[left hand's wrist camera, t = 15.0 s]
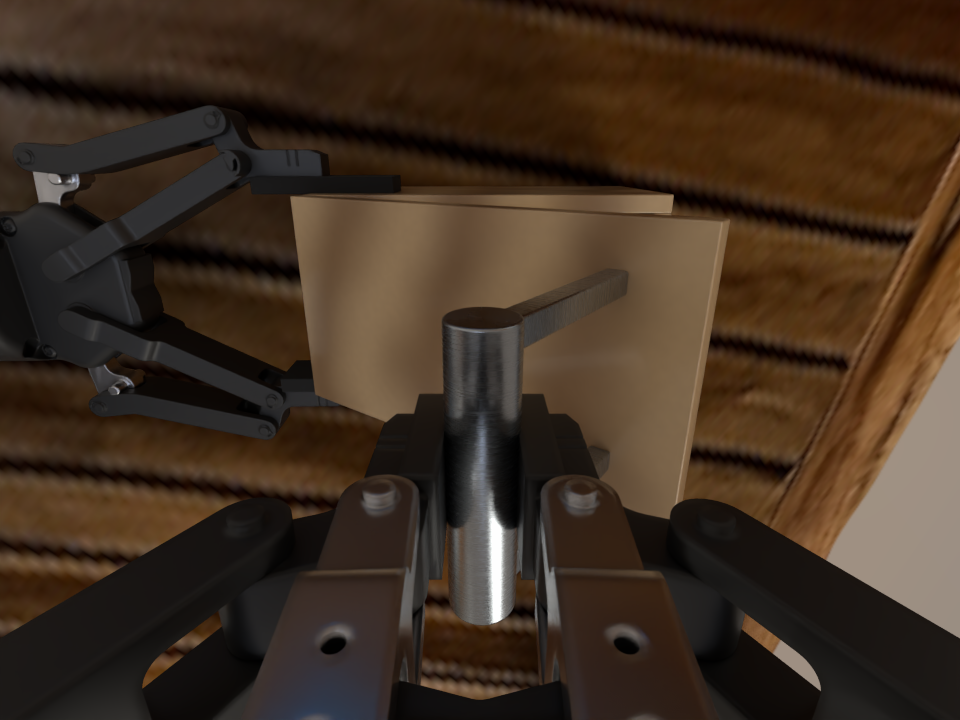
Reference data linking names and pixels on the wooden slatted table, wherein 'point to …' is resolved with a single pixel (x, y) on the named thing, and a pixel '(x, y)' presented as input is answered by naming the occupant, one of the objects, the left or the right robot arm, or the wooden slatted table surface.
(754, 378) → the wooden slatted table surface
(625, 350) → the lid
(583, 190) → the chest
